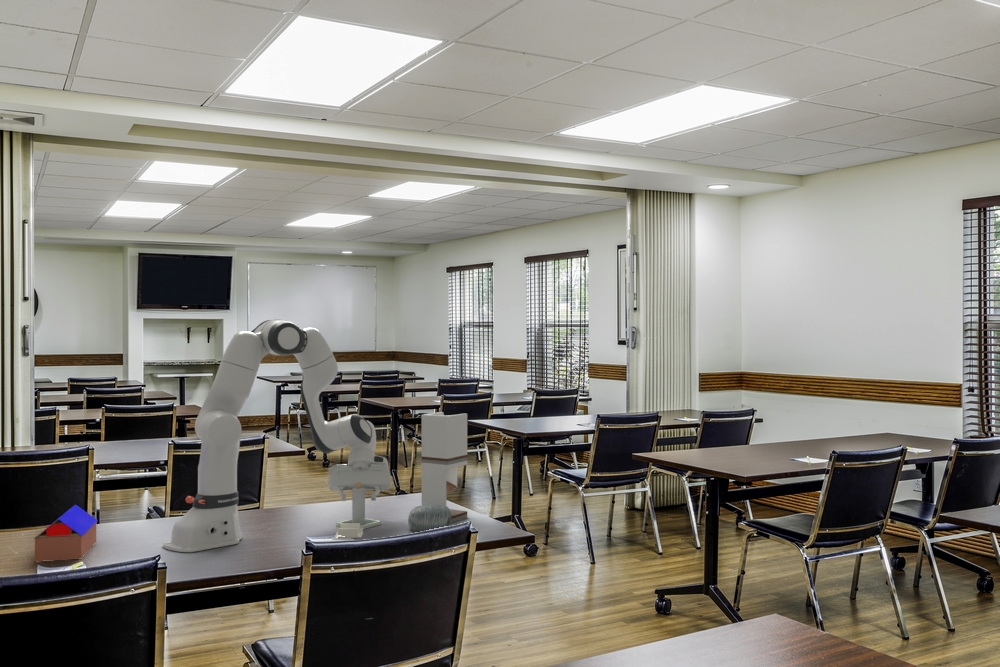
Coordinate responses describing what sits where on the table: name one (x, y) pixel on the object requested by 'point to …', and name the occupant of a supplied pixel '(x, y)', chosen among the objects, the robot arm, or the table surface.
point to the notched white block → (442, 457)
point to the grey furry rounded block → (429, 517)
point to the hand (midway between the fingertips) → (358, 499)
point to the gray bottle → (358, 504)
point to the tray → (370, 521)
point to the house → (67, 536)
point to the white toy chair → (350, 530)
